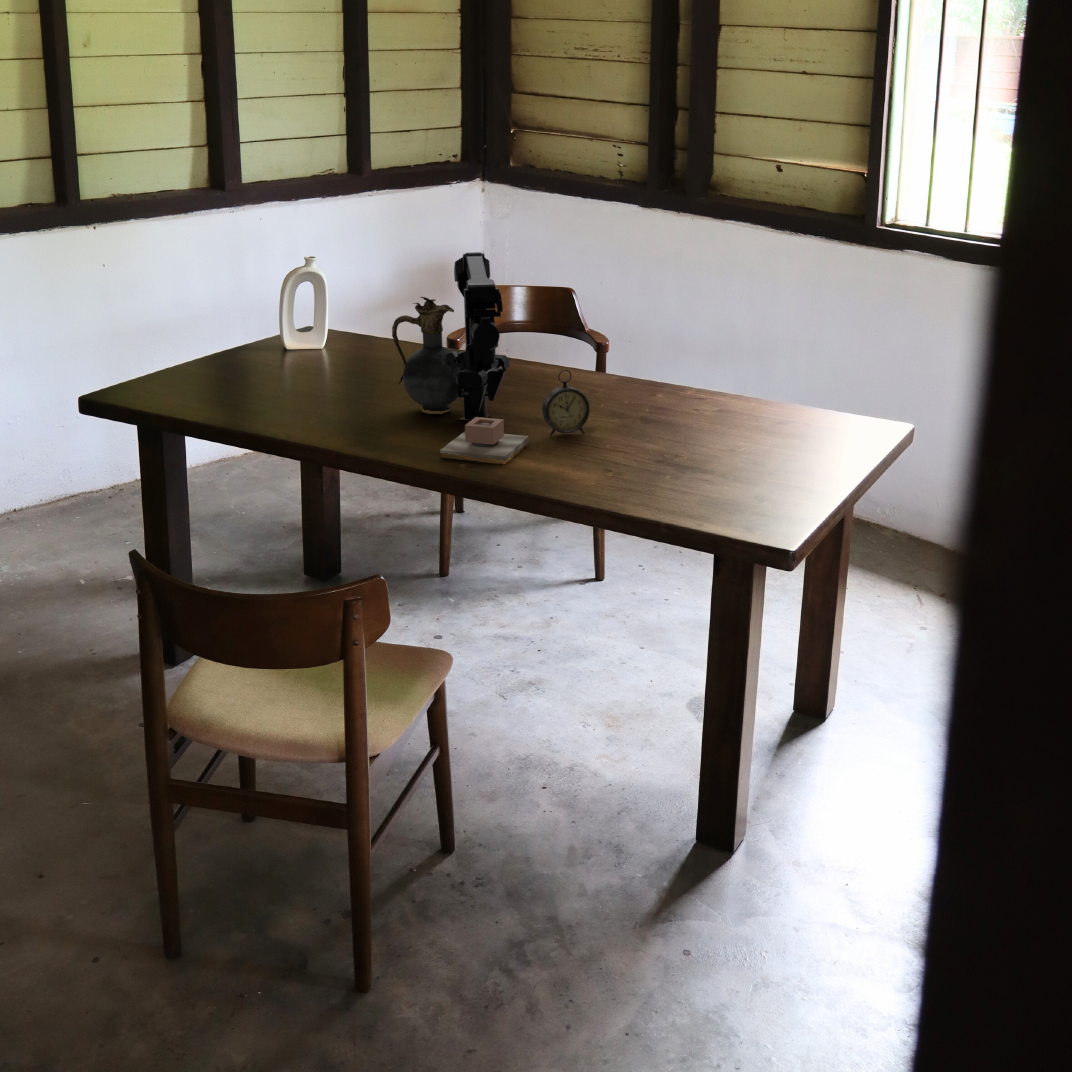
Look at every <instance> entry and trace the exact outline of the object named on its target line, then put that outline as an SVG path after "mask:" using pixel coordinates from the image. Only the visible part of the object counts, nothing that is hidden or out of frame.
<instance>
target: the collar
mask: <svg viewBox="0 0 1072 1072" xmlns="http://www.w3.org/2000/svg"><path fill="white" fill-rule="evenodd" d="M504 420H505V419H501V418H491V417H489V418H482V417H475V418H474V419H472V420H471V421H468V422H467V423H466V424H465V425H464V432H465V442H472V443H482V444H493V445H494V444H495V443H496V442H497V441H498V440H500V439H501V438H502V437H503V436H504V434H505V424H504V423H505V421H504ZM481 423H489V424H490V426H489V425H480V424H481Z"/></svg>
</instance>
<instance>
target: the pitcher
mask: <svg viewBox="0 0 1072 1072" xmlns="http://www.w3.org/2000/svg"><path fill="white" fill-rule="evenodd" d="M420 299H423V300H424V303H423V305H421V303H420V302H415V303H413V302H412V304H413V305H415V306H414V309H415V311H416V312H417V313H418V314H419V315H418V316H417V317H412V316H411V315H407V314H406V315H400V316H398V317H397V318H396V319H395V320H394V321H393V324H392V327H391V331H392V335H391V337H392V339H393V342H394V344H395V347H396V349H397V351H398V353H399V355H400V357H401V359H402V362H403V367H404V368H403V371H402V372H403V373H402V375H401V376H400V379H399V381H398V385H400V384H401V382H402V381H403V386H404V388H405V391H406V393H407V395H408V397H409V398H410V399H411V400H413V401H414V402H415V403H417V404H418V405H420V406H421V407H423V409H424V410H430V411H445V410H449V409H450V408H451V407H450V406H449V405H450V404H452V403H453V402H455V401H457V399H458V398H459V396H458V389H457V383H456V375H457V374H458V373H459V372H460V367H458V368H455V369H454V370H450V368H449V367H448V366H447V365H445V362H446V361H445V358H446V354H447V353H449V352H450V353H451V352H453V351H452V350H451V349H450V348H446V347H444V346H443V330H444V329H443V328H444V327H443V320H444V315H445V314H446V313H448V312H451V313H455V310H454V308H453V307H451V306H450V305H448V304H441V305H439V304H438V305H437V303H435V302H436V299H435V298H433V299H430V298H429V297H426V296H420ZM401 323H410V324H411V325H417V326H418V327H419V328H420V333H422V348H419V349H417V350H415V351H414V352H413V353H412V354H411V355H410V356H409V357H408V358H407V360H406V357H405V355H404V352H403V350H402V348H401V346H400V344H399V338H398V332H397V331H398V327H399V325H400V324H401ZM461 390H463V389H461Z"/></svg>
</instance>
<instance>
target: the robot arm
mask: <svg viewBox="0 0 1072 1072" xmlns="http://www.w3.org/2000/svg"><path fill="white" fill-rule="evenodd" d="M490 264H491V263H490V260H489V259H488V258H487V257H485V253H483V252H479V251H478V252H477V251H476V252H465V253H463V254H462V257H460V258H459V259H456V260H455V262H454V267H453V274H454V282H455V283H456V286H457V288H458V290H459V293H460V294H461V296H462V297H463V306H464V311H463V312H464V335H465V338H464V340H465V349H463V350H460V351H455V350H453V351H452V352H451V353H450V352H449V353H447V354H446V358H445V361H446V362H445V365H447V366H448V367H449V368H450V370H454V369H455V368H458V367H460V372H459V373H458V374H457V375H456V383H457V389H458V398H460V399H461V398H463V415H464V417H465V419H468V420H472V419H474V418H475V417H482V418H485V417H486V416H490V415H487V414H486V413H487V397H488V401H489V402H494V401H495V398H496V395H497V394H498V391H499V389H500V386H501V385H502V382H503V380H504V377H505V375H506V373H507V372H508V368H509V367H510V358H508V356H507V355H506V354H496V348H498V347H499V341H500V337H501V336H500V331H499V329H498V327H497V325H496V321H495V320H496V319H495V318H496V317H497V318H499V317H502V315H501V313H503V310H504V307H503V301H502V293H501V291H500V289H499V287H497V286H496V284H495V283H496V282H495V280H493V279H491V267H490ZM461 389H462V390H461ZM490 417H491V416H490Z"/></svg>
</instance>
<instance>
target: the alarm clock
mask: <svg viewBox="0 0 1072 1072" xmlns="http://www.w3.org/2000/svg"><path fill="white" fill-rule="evenodd" d="M563 372H568V373H569V375H570V376H569V379H568V380H563V381H562V380H561V378H560V376H561V374H562V373H563ZM557 378H558V380H559V382H560V383H561V384H562V386H557V387H555V388H554V389H552V390H551V391H550V392H549V393H547V395H546V396H545V398H544V399H543V403H542V409H541V410H542V416H543V419H544V421H545V422H546V423H547V424H548V426H549V427H551V428H552V430H551V432H550V434H548V437H549V436H551V437H552V436H553V435H554V433H555V432H559V433H560V434H561V433H562V434H571V433H575V432H577V431H578V430H579V431H580V432H581V433H582V434H583V435H584V434H585V433H586V431H585V430H584V429H583V428H582V427H583V426H584V425H585V424H586V422H587V421H588V419H589V416H590V411H591V410H590V403H589V400H588V398H587V396H586V395H585V394H584V393H583V392H582V391H580V390H578V388H574V387H572V386H569V385H567V383H569V382H570V381H571V379H572V373H571V371H570V370H568V369H562V370H561V371H560V372H559V373H558V376H557Z"/></svg>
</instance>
